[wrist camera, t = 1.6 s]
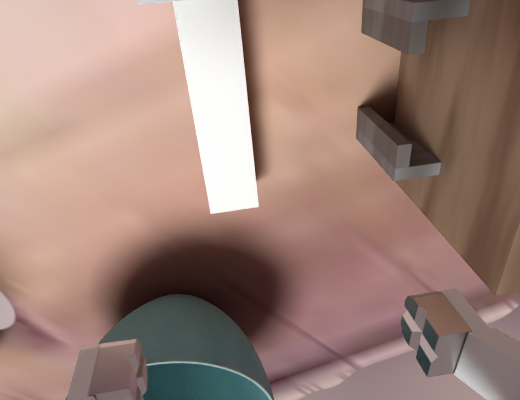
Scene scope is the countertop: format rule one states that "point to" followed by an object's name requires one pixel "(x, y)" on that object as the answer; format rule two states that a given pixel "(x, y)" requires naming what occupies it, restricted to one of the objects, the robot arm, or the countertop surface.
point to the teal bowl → (193, 351)
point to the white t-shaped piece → (218, 99)
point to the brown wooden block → (455, 124)
